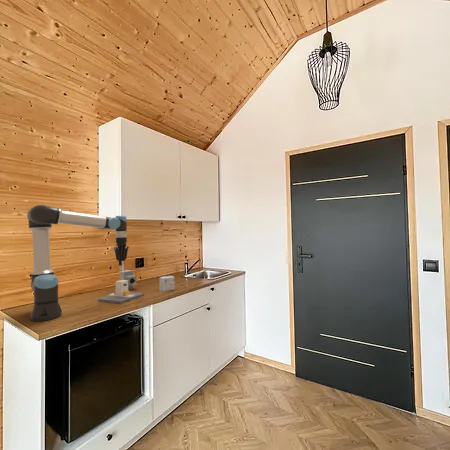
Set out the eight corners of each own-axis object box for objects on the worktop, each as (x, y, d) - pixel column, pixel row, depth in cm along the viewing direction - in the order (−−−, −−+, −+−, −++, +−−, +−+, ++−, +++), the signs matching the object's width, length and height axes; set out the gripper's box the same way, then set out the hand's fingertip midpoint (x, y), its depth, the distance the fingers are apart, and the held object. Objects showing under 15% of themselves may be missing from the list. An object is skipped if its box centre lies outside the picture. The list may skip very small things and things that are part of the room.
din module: (122, 296, 193) (122, 282, 193) (115, 295, 195) (115, 281, 195) (129, 294, 199) (129, 280, 199) (122, 293, 201) (122, 279, 202)
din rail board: (120, 303, 182) (120, 295, 182) (98, 301, 190) (98, 293, 190) (144, 295, 205) (143, 288, 205) (122, 293, 212) (122, 286, 212)
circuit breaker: (129, 291, 218) (129, 272, 218) (119, 289, 226) (119, 271, 227) (137, 289, 224) (137, 271, 224) (127, 287, 232) (127, 269, 233)
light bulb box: (169, 288, 227) (169, 275, 227) (174, 289, 223) (174, 276, 223) (159, 290, 219) (158, 277, 219) (164, 292, 214) (164, 278, 215)
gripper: (118, 237, 190) (119, 271, 190) (131, 236, 202) (132, 268, 202) (110, 237, 193) (110, 270, 193) (123, 236, 205) (123, 268, 205)
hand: (121, 269), depth 197 cm, fingers closed
